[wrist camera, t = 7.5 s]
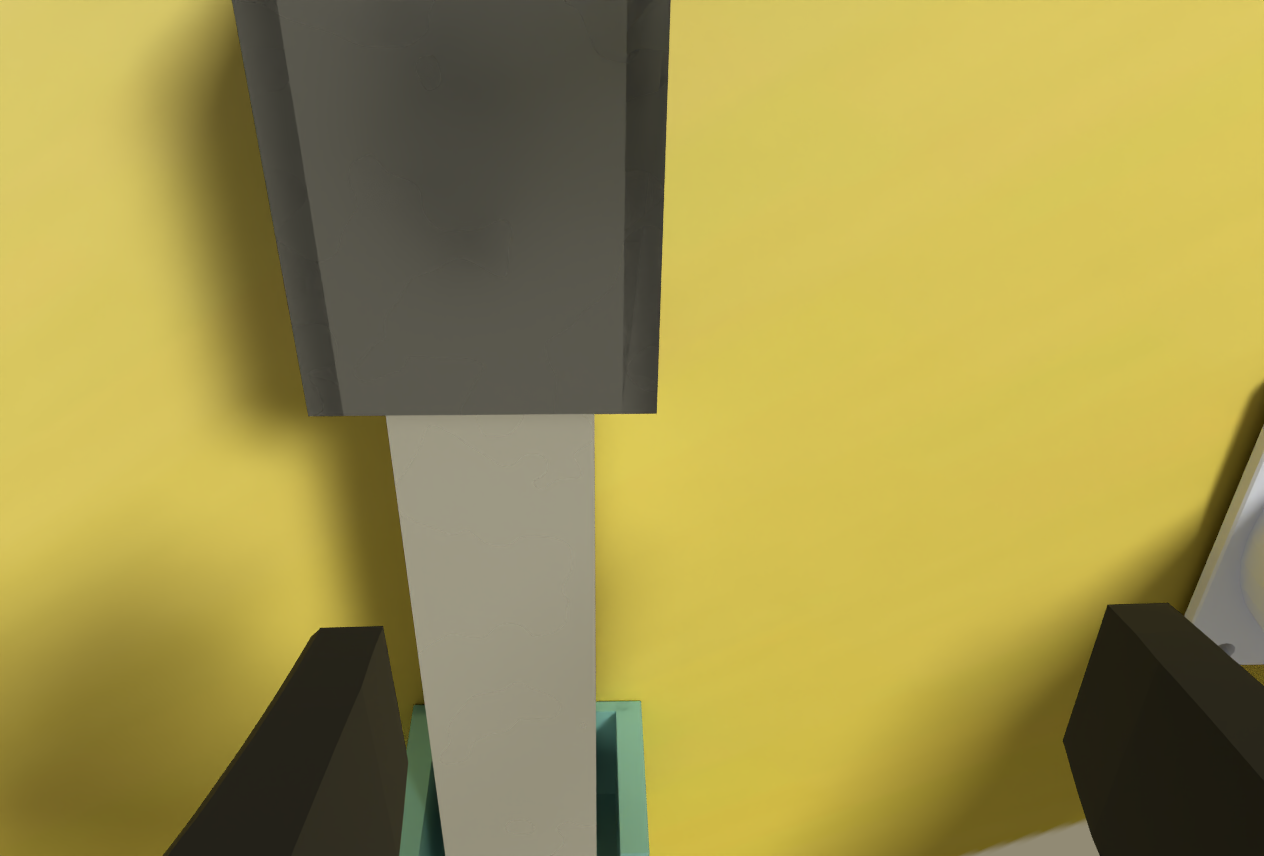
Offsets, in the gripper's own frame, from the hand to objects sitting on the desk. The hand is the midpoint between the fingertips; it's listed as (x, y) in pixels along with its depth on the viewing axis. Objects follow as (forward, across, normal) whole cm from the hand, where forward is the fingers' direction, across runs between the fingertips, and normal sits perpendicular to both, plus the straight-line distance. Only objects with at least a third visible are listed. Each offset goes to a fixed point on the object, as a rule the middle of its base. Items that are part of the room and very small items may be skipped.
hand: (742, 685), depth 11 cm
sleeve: (+10, +3, -3) cm, 11 cm away
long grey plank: (+10, +3, +7) cm, 13 cm away
